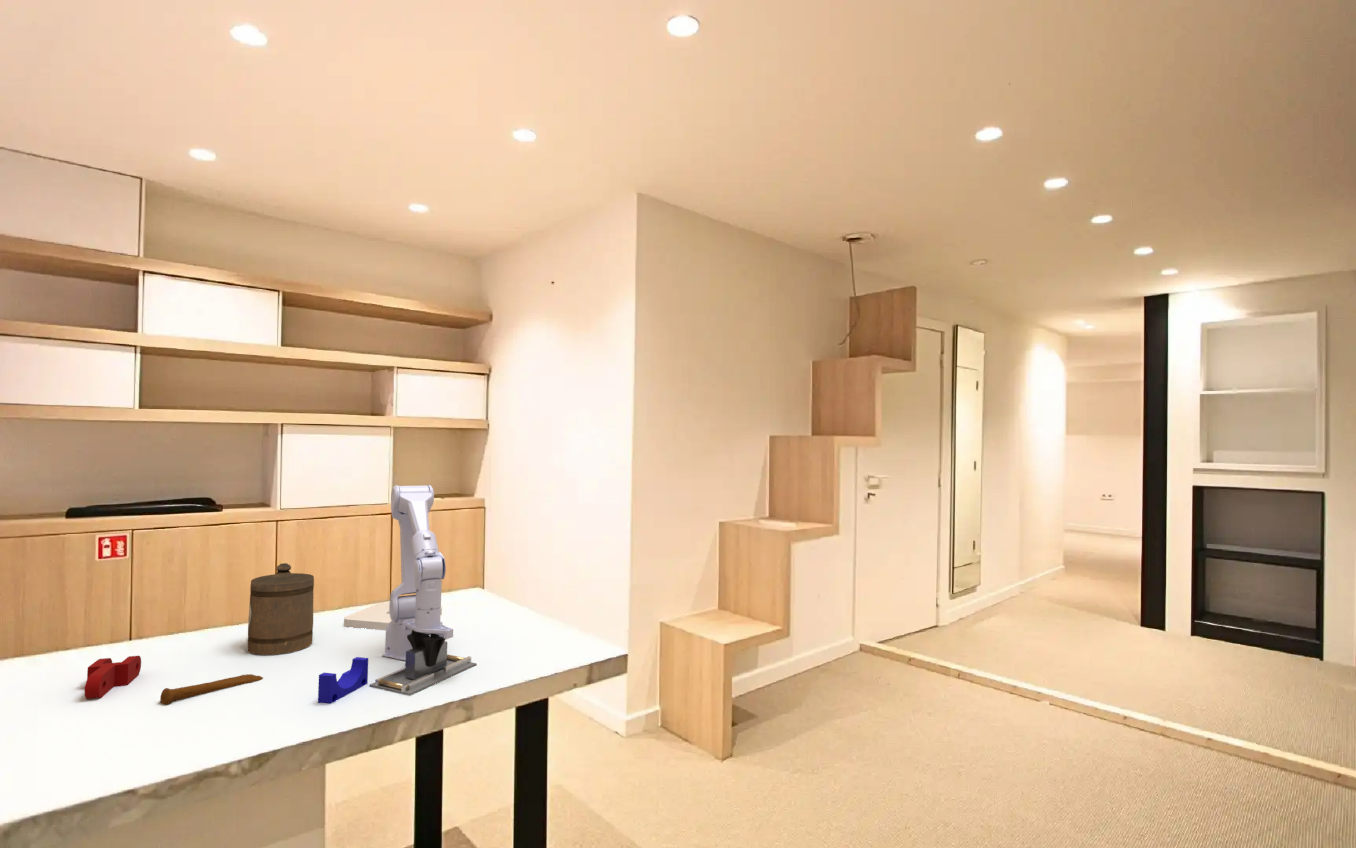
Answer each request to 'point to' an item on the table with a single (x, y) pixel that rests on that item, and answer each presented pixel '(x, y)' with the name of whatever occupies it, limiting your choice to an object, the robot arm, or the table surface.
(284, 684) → the table surface
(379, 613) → the tapered beige board
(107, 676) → the mechanical linkage
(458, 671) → the grey slide base plate
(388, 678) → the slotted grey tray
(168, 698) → the primitive tool
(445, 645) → the dark gray rectangular chunk
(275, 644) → the wooden container
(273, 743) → the table surface
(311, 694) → the table surface
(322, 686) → the blue cradle bracket
